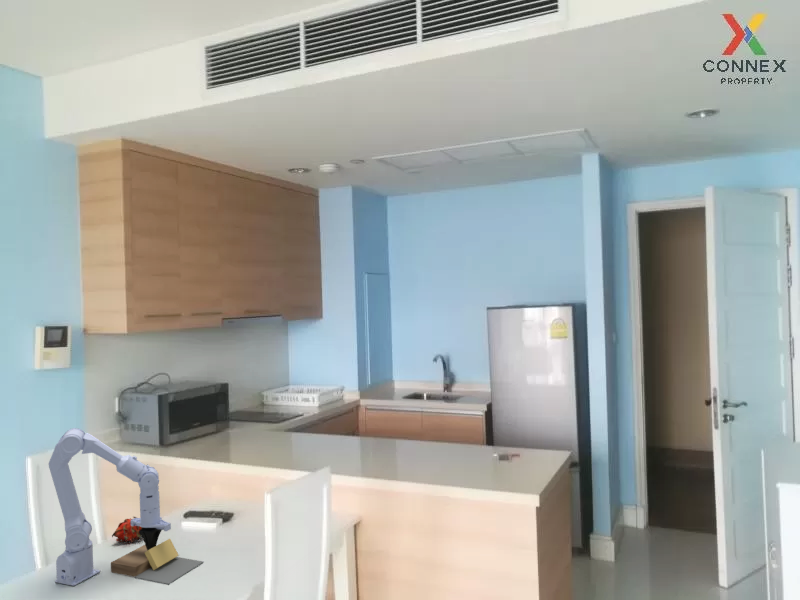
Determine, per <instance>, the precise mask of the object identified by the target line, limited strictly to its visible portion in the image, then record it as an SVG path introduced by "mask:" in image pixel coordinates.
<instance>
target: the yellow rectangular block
mask: <svg viewBox="0 0 800 600" xmlns="http://www.w3.org/2000/svg"><path fill="white" fill-rule="evenodd" d="M145 555H146V557H147V559H148V561H149V563H150V565H151V567H152V569H153V570H155V569H157V568H159V567H160V566H162V565H164V564H165V563H167V562H169V561H171V560H172V559H174V558H176V557H179V556H180V555H179V553H178V552H177V549H176V547H175V546H174V543H173V541H172V539H171V538H168V539H166V540H164V541H162V542H160V543H159V544H156V546H155V547H153V548H151V549H149V550H148V551H146V552H145Z"/></svg>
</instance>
